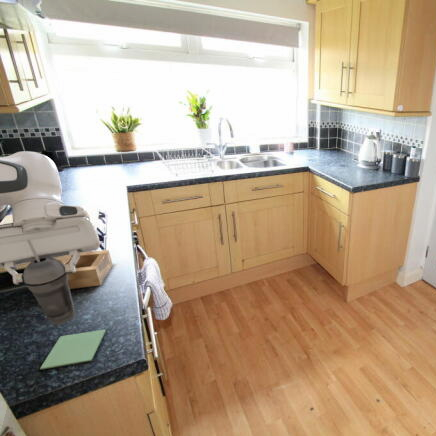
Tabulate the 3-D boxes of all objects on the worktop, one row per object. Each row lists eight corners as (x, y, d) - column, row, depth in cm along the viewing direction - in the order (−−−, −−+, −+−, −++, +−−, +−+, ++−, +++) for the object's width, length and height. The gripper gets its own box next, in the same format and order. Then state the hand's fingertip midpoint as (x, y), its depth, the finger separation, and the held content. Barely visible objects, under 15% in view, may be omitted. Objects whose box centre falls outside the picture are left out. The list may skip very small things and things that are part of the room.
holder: (55, 290, 97) (49, 274, 94) (72, 269, 107) (67, 254, 105) (100, 285, 100) (95, 269, 97) (112, 265, 110) (108, 250, 108)
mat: (40, 369, 71) (39, 368, 71) (60, 337, 80) (60, 336, 80) (91, 360, 74) (91, 359, 74) (106, 330, 83) (105, 329, 82)
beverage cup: (57, 332, 69) (23, 253, 61) (34, 324, 71) (-2, 245, 63) (90, 311, 75) (63, 236, 67) (68, 304, 77) (40, 230, 69)
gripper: (-33, 222, 64) (-30, 288, 60) (90, 206, 74) (99, 262, 70) (-16, 233, 69) (-13, 294, 66) (97, 216, 79) (105, 269, 75)
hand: (46, 277), depth 68 cm, fingers closed on beverage cup, 7 cm apart
